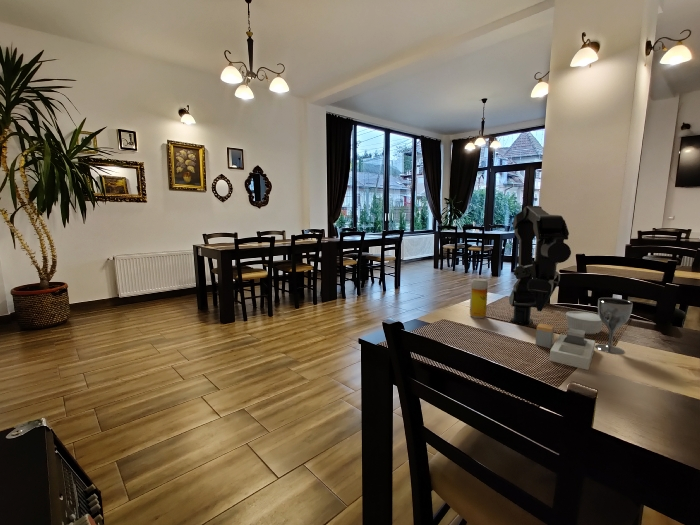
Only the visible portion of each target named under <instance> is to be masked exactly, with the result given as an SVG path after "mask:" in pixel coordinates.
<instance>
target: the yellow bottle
mask: <svg viewBox="0 0 700 525" xmlns="http://www.w3.org/2000/svg"><path fill="white" fill-rule="evenodd" d="M488 285H489V283H488V279H487V278H482V277H477V278H476V277H474V278H472V279H471V282H470V296H469V297H470V298H469V300H470V301H469V315H470V316H471V318H474V319H484V318H485V317H486V316H487V304H488V303H487V302H488V301H487V300H488V287H489V286H488Z"/></svg>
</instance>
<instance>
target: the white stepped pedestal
mask: <svg viewBox="0 0 700 525" xmlns="http://www.w3.org/2000/svg"><path fill="white" fill-rule="evenodd" d="M585 336H586V334H585V331H583V330H577V329H572V328H568V329H567V331H566V334H563V333H559V335H558V336H557V338H556V340H555V342H553V344H552V346H551V347H550V351H549V361H550V362H553V363H557V364H562V365H566V366H571V367H575V368H578V369H582V370H587V371H588V370H589V369H590V365H591V363H592V359H593V355H594V353H595V352H594V351H595V348H596V347H595V346H596V340H592V339H588V338H586V337H585Z"/></svg>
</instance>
